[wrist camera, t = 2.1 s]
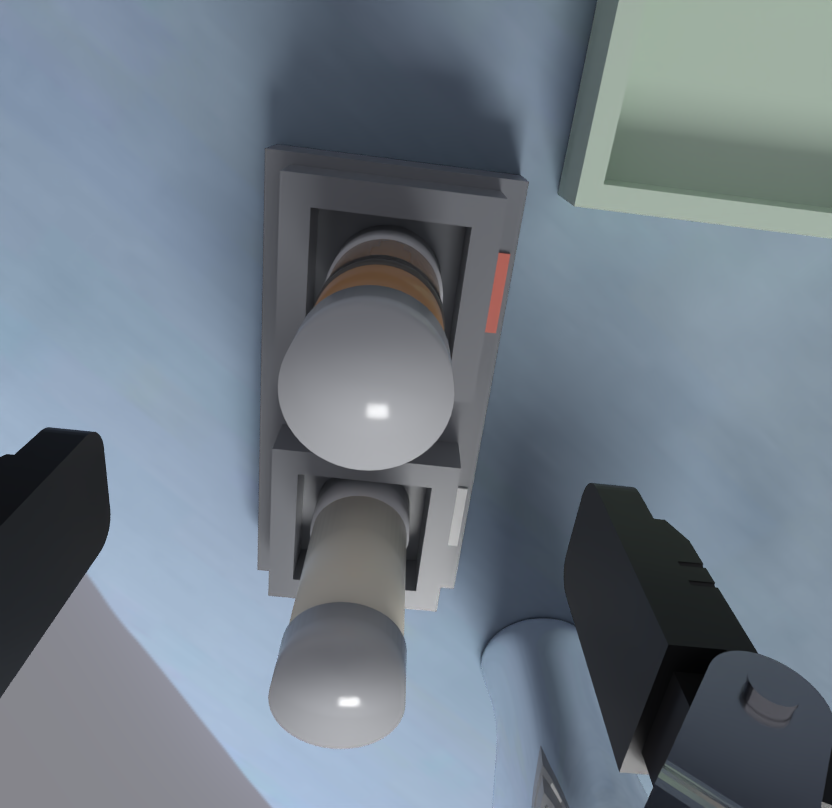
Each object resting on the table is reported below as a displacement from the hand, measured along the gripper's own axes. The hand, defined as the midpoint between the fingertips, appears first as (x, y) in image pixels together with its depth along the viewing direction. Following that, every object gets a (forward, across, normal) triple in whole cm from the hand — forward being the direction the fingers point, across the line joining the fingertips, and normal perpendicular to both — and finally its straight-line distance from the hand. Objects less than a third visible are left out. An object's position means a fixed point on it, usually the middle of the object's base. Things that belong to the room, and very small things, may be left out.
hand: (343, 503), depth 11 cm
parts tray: (+16, -13, -8) cm, 22 cm away
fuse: (+14, 0, +10) cm, 17 cm away
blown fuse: (+14, 0, 0) cm, 14 cm away
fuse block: (+16, 0, +5) cm, 17 cm away
